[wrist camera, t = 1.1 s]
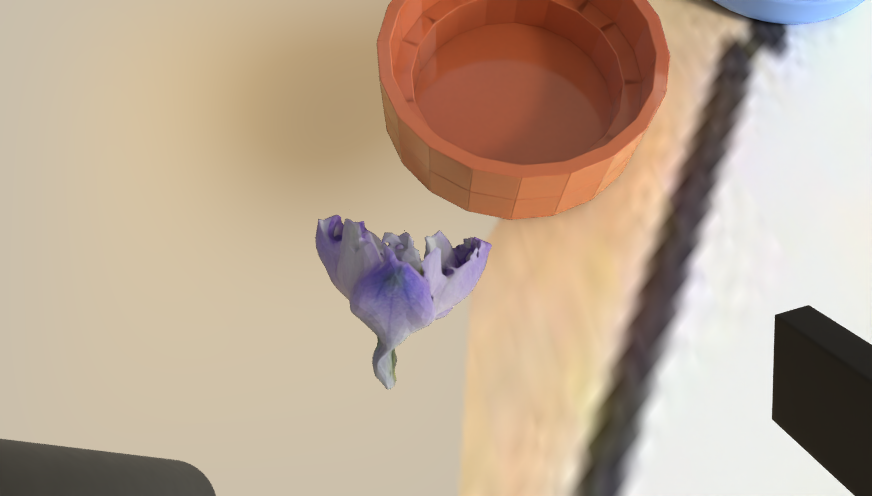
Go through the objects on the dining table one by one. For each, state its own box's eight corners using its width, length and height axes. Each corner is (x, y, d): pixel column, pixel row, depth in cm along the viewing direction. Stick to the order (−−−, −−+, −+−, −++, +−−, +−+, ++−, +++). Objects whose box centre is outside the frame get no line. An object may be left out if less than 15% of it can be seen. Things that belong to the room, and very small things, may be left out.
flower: (473, 416, 28) (434, 194, 27) (311, 420, 31) (272, 223, 30) (523, 353, 36) (494, 183, 35) (392, 362, 40) (362, 206, 39)
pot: (395, 234, 38) (388, 190, 33) (378, 18, 44) (369, -51, 39) (663, 209, 39) (701, 162, 33) (610, -1, 45) (634, -72, 39)
